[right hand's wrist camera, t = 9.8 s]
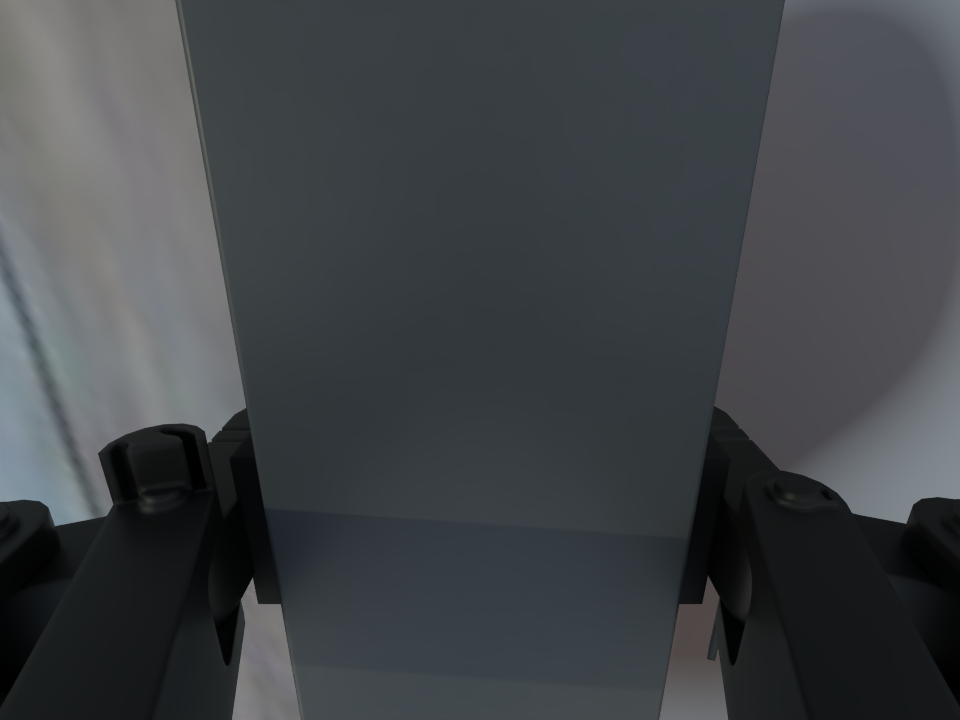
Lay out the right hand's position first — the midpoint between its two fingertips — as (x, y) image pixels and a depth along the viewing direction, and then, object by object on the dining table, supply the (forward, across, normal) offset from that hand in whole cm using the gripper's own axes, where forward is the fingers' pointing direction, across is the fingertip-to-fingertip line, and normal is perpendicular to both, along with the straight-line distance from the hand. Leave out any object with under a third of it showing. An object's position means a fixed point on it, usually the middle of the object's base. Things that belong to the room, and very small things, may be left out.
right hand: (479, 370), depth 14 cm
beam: (+1, 0, -28) cm, 28 cm away
